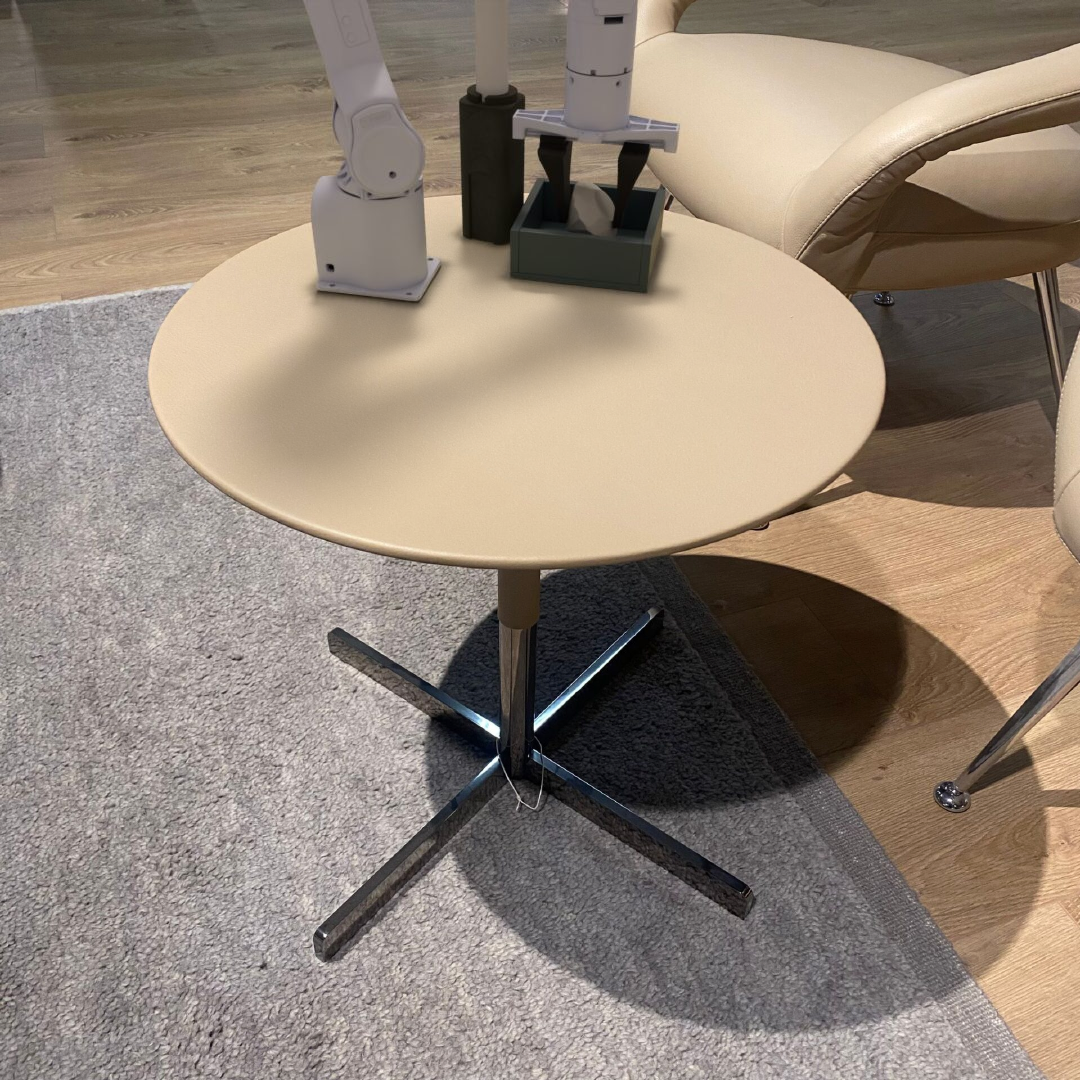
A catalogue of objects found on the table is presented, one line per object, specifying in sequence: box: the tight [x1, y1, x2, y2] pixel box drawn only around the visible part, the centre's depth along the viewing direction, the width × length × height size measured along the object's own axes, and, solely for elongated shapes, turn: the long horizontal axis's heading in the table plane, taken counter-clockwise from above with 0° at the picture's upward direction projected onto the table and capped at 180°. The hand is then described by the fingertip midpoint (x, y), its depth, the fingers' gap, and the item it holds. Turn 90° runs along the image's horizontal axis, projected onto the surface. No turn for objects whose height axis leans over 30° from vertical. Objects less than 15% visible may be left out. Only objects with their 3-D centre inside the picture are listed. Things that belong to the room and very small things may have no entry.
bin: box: [509, 177, 667, 293], centre depth 96 cm, size 13×13×5 cm
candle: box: [458, 0, 526, 246], centre depth 92 cm, size 5×5×25 cm
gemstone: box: [565, 179, 617, 237], centre depth 95 cm, size 6×6×5 cm
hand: (590, 221), depth 95 cm, fingers closed on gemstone, 4 cm apart
